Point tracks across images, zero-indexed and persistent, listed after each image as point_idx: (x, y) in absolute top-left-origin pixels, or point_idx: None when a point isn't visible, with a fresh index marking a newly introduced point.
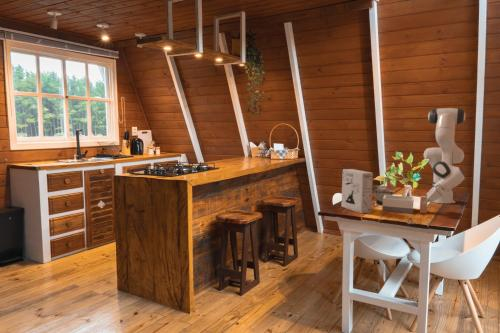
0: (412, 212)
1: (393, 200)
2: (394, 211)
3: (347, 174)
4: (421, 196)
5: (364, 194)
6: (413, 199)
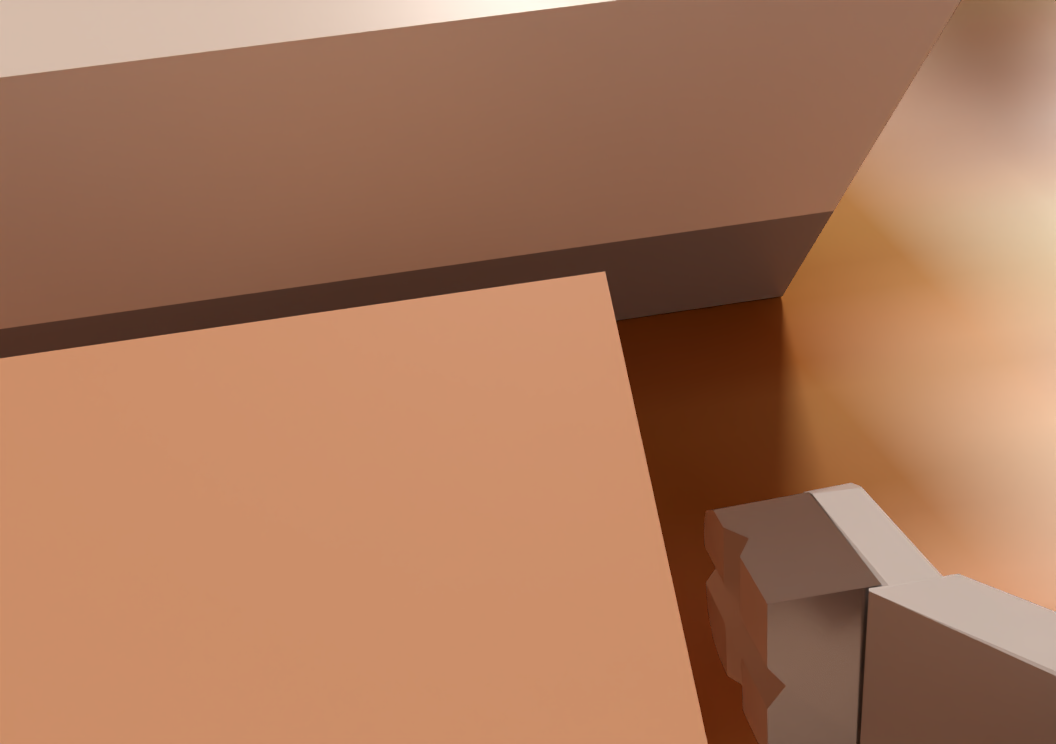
0: None
1: None
2: None
3: None
4: (174, 407)
5: None
6: (32, 69)
